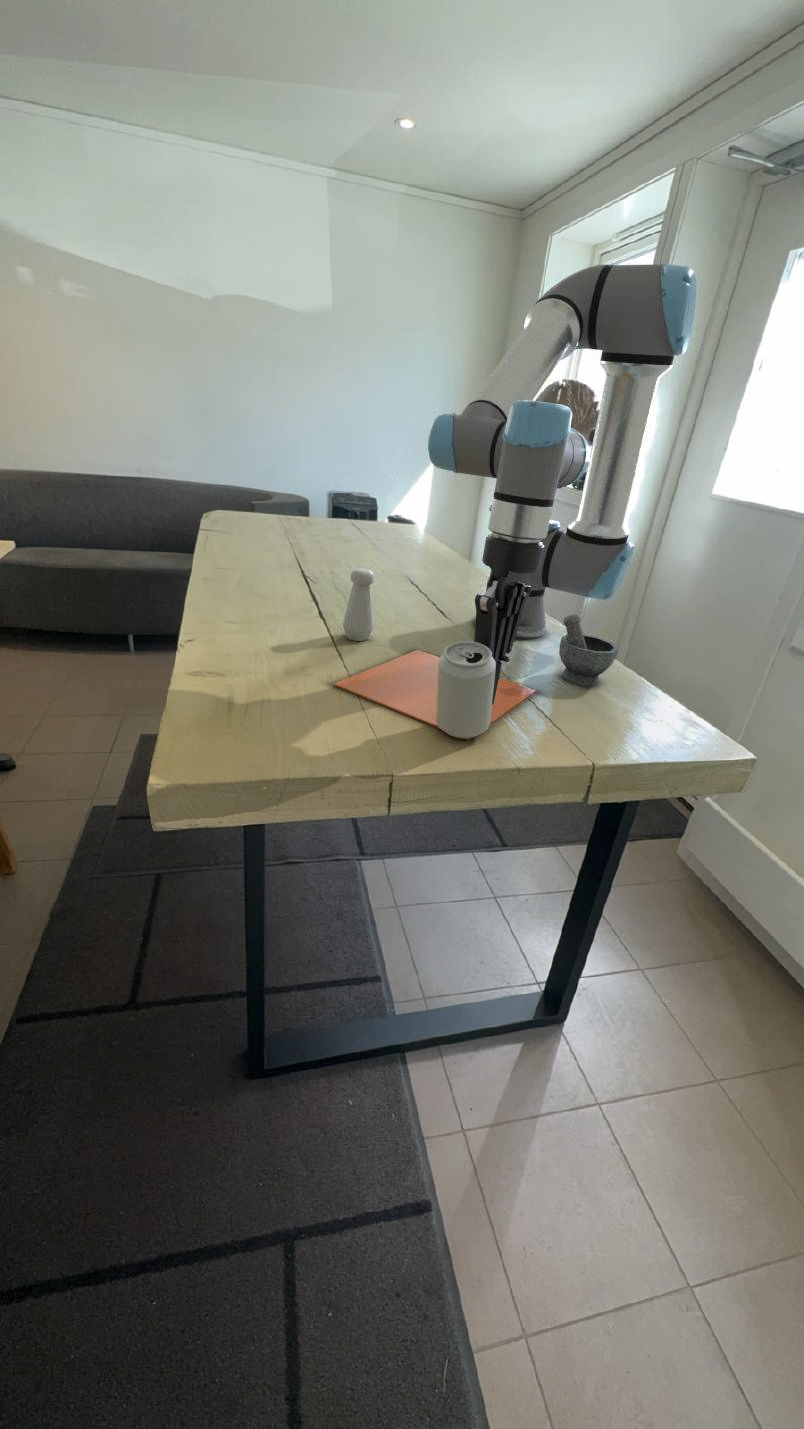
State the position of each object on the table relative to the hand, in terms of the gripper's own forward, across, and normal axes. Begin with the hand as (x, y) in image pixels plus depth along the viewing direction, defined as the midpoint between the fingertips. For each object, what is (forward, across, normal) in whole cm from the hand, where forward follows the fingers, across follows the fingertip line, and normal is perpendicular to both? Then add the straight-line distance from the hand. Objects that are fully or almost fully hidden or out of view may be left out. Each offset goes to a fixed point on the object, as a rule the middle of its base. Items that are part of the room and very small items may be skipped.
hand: (483, 702), depth 86 cm
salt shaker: (+3, -13, -34) cm, 36 cm away
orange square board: (+3, -5, -10) cm, 11 cm away
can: (+2, +6, 0) cm, 6 cm away
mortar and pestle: (+3, -29, +5) cm, 29 cm away
